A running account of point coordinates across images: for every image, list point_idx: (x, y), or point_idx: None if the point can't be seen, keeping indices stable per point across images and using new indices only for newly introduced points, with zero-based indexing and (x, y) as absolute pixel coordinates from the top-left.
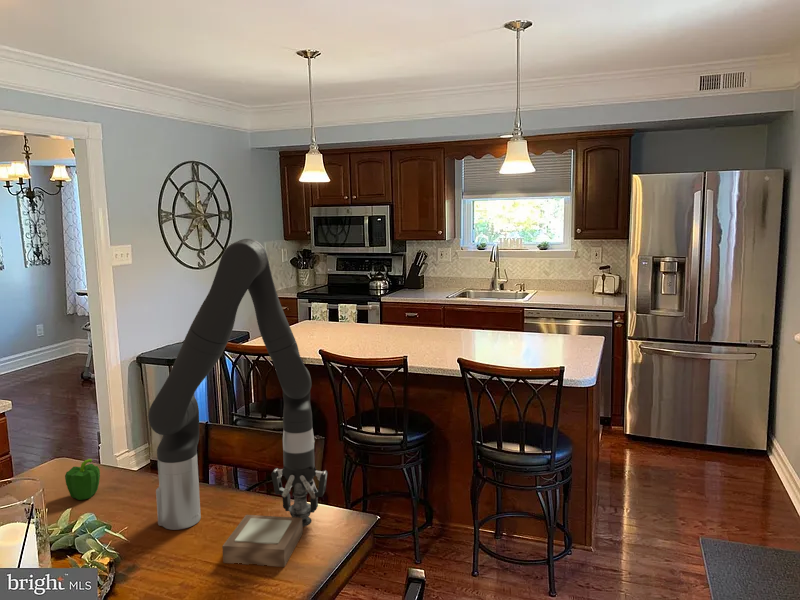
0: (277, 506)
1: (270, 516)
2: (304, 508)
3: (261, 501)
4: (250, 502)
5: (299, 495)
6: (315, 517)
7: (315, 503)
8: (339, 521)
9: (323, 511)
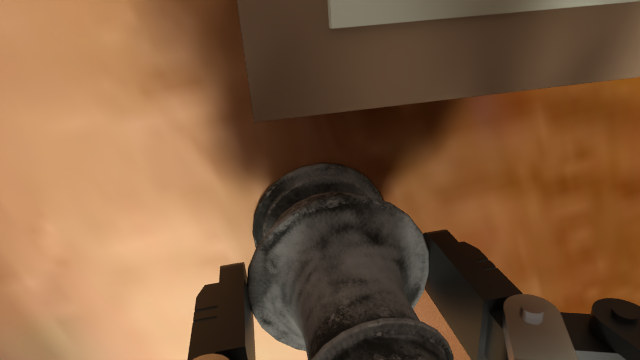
0: None
1: (545, 80)
2: (296, 267)
3: None
4: None
5: (369, 346)
6: None
7: (199, 329)
8: (71, 292)
9: None
